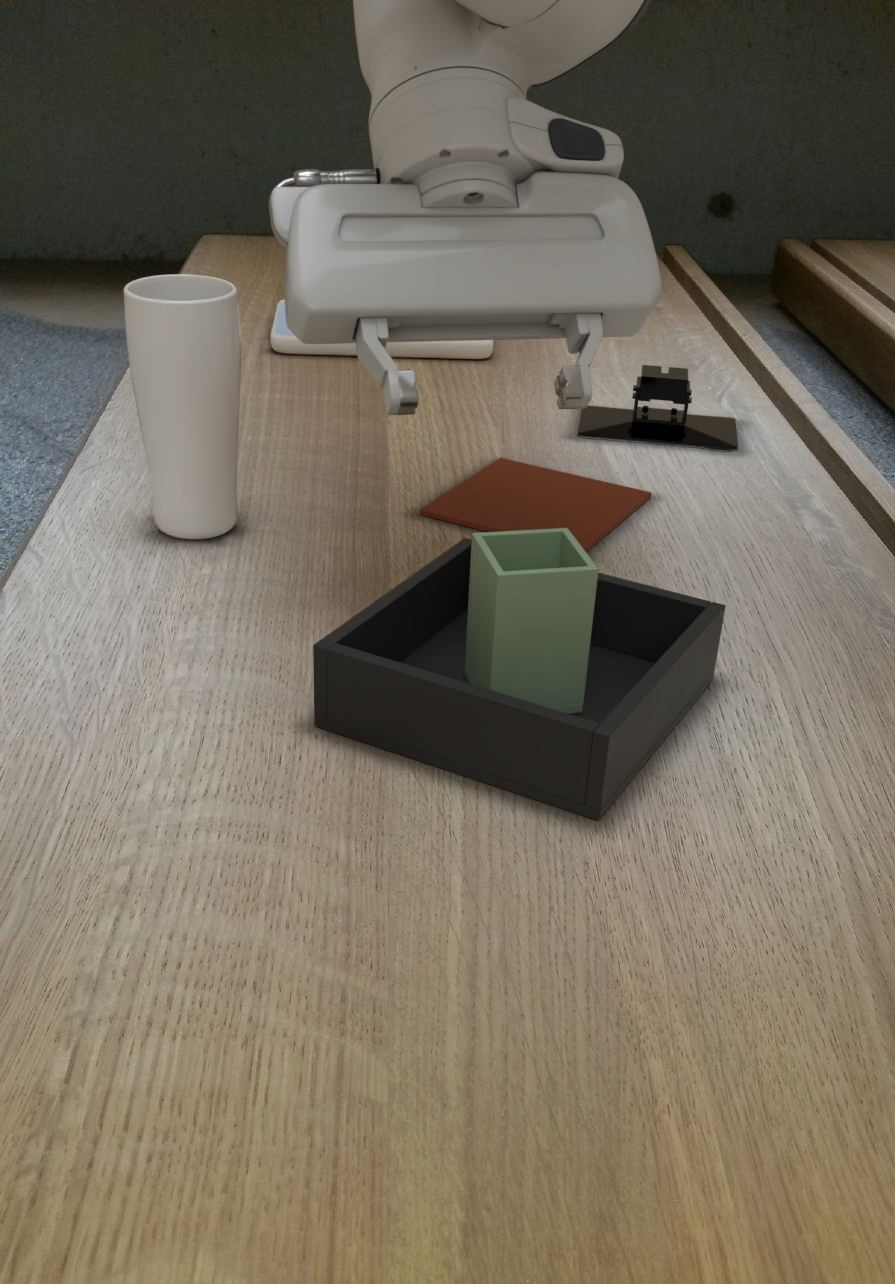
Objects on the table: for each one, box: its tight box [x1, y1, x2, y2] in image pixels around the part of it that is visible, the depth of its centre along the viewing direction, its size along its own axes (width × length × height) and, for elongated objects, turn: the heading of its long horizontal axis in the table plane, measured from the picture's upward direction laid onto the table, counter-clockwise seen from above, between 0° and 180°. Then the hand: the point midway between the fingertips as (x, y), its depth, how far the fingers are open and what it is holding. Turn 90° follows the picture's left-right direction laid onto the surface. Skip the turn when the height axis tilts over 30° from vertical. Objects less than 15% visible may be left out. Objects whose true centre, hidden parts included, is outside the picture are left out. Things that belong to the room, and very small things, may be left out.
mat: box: [419, 457, 652, 553], centre depth 93 cm, size 12×12×1 cm
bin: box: [312, 537, 727, 821], centre depth 70 cm, size 16×16×5 cm
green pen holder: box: [465, 528, 599, 714], centre depth 68 cm, size 5×5×8 cm
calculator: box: [269, 298, 494, 360], centre depth 126 cm, size 13×20×2 cm, turn 92°
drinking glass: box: [122, 273, 242, 540], centre depth 84 cm, size 7×7×15 cm
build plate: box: [576, 364, 739, 452], centre depth 107 cm, size 12×7×5 cm, turn 82°
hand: (490, 407), depth 71 cm, fingers open, 8 cm apart
